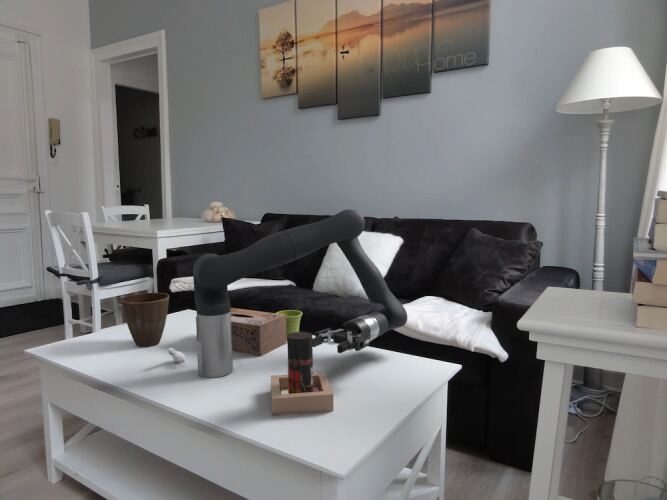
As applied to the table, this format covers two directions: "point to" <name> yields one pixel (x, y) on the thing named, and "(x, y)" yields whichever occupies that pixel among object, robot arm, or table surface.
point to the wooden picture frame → (301, 396)
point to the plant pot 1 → (146, 317)
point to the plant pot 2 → (291, 320)
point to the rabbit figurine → (176, 355)
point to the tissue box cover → (256, 331)
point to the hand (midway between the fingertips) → (325, 346)
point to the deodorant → (300, 362)
